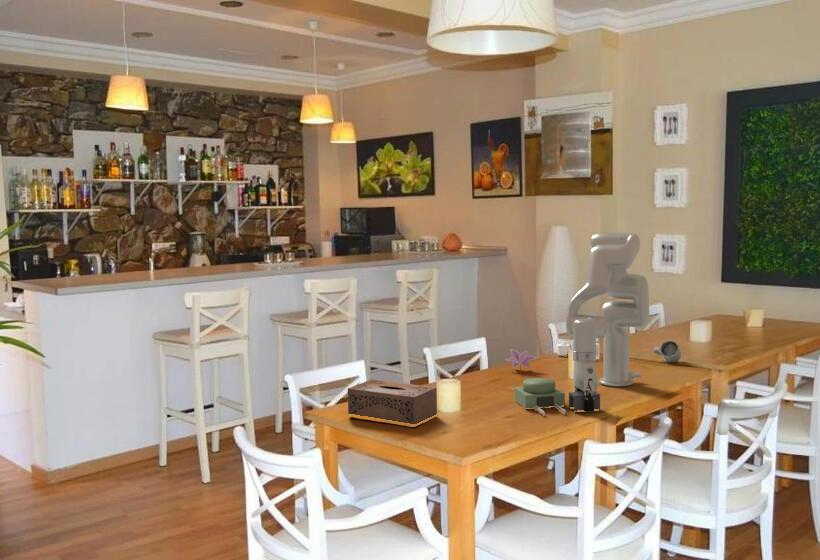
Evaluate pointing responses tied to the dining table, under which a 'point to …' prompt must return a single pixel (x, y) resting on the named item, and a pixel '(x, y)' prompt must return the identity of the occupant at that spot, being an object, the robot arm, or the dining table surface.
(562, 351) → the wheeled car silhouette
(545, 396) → the mower deck
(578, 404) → the chute
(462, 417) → the dining table surface
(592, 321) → the robot arm
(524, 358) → the lily
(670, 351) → the ceramic mug
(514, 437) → the dining table surface
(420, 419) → the tissue box cover
